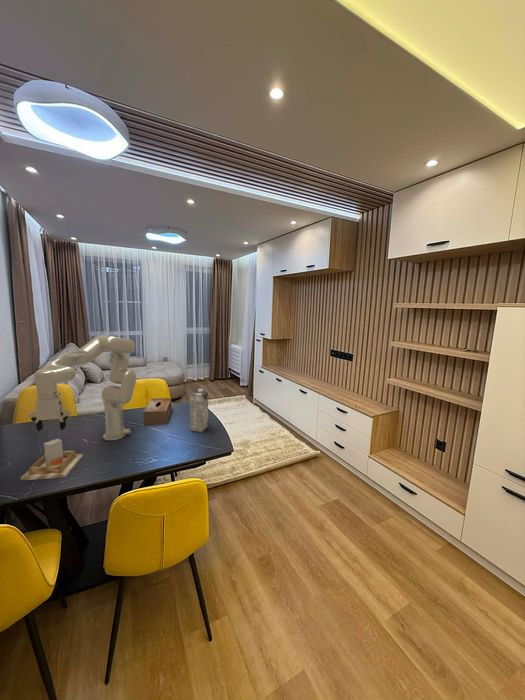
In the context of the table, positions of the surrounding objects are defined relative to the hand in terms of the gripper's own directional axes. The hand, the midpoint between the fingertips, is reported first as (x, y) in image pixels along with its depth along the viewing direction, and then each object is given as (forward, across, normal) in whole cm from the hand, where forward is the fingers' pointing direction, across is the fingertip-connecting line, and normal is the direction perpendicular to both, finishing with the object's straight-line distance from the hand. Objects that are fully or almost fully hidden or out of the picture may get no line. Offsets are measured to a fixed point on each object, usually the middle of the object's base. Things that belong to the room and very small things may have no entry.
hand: (51, 429), depth 132 cm
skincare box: (+18, 0, +1) cm, 19 cm away
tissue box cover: (+22, -38, -56) cm, 71 cm away
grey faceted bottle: (+21, -68, -33) cm, 78 cm away
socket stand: (+20, 0, +1) cm, 20 cm away
